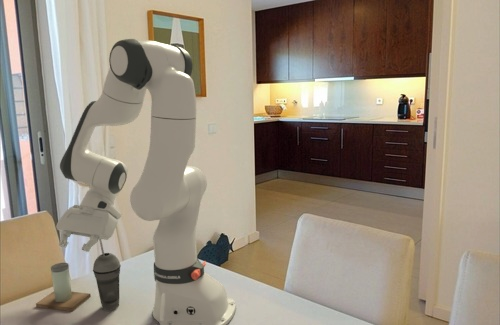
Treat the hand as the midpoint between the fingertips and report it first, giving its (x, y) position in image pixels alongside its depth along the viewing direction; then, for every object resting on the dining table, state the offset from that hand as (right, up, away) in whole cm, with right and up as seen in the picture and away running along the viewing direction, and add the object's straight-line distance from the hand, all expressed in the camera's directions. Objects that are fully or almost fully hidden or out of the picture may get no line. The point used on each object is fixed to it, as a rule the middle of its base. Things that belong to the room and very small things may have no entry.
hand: (73, 248), depth 118 cm
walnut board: (-2, -15, -2) cm, 15 cm away
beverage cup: (+13, -15, -5) cm, 21 cm away
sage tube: (-2, -14, -2) cm, 14 cm away
